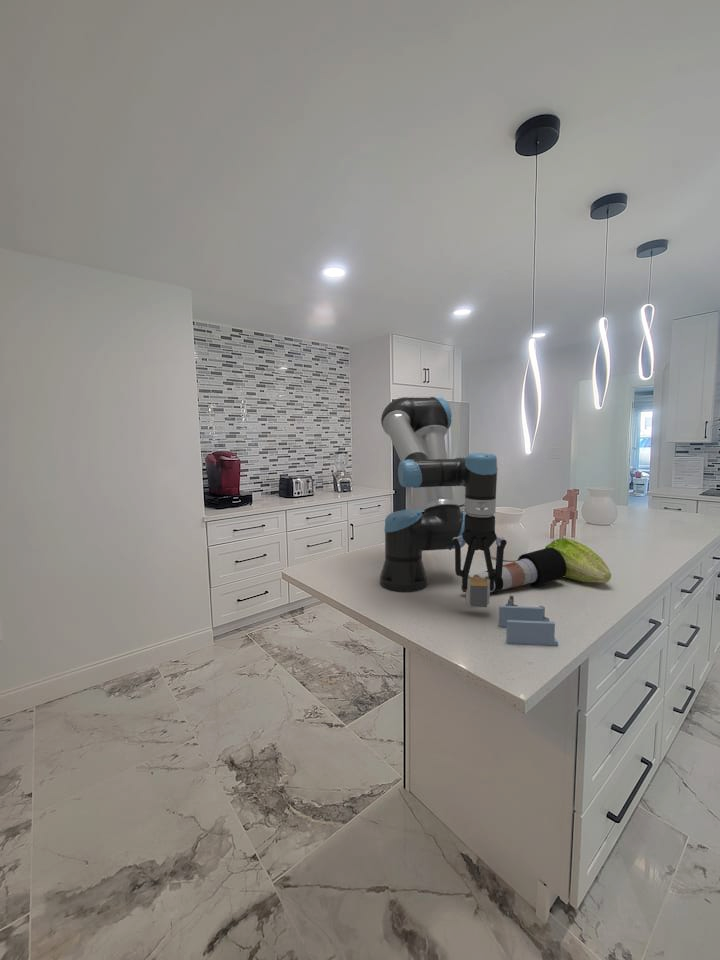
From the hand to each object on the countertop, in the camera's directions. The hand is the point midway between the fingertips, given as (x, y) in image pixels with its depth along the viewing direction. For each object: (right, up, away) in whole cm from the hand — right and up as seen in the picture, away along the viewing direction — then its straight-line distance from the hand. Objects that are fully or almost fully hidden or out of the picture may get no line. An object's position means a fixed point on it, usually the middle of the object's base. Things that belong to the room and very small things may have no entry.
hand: (477, 601), depth 106 cm
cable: (+16, -2, +18) cm, 24 cm away
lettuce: (+40, -1, +25) cm, 47 cm away
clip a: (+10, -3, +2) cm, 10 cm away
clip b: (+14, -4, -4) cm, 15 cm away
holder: (+8, -4, -12) cm, 15 cm away
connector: (0, -1, 0) cm, 1 cm away
